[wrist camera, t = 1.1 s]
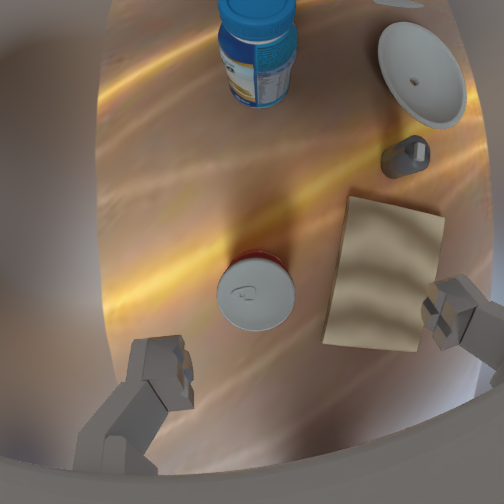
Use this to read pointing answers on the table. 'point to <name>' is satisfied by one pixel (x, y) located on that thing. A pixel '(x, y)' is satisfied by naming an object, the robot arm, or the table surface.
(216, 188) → the table surface
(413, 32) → the dish
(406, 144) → the dark grey cylinder
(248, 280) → the canned food
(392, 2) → the chef's knife
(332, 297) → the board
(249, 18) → the beverage bottle
